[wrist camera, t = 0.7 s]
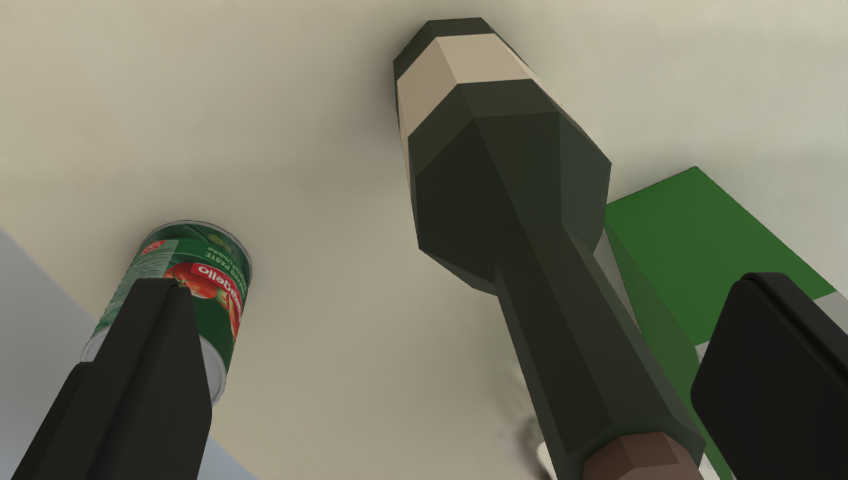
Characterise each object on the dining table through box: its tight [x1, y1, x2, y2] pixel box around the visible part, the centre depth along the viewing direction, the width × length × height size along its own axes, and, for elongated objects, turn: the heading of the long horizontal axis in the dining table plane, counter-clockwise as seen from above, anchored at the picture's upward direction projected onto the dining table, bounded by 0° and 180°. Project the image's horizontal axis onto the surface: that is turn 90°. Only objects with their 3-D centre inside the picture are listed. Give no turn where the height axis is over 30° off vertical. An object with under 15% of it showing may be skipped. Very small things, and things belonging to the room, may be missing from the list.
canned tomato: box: [80, 221, 252, 407], centre depth 39 cm, size 8×8×11 cm
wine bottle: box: [393, 17, 706, 480], centre depth 26 cm, size 8×8×30 cm
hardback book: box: [604, 166, 848, 480], centre depth 38 cm, size 18×7×24 cm, turn 25°
